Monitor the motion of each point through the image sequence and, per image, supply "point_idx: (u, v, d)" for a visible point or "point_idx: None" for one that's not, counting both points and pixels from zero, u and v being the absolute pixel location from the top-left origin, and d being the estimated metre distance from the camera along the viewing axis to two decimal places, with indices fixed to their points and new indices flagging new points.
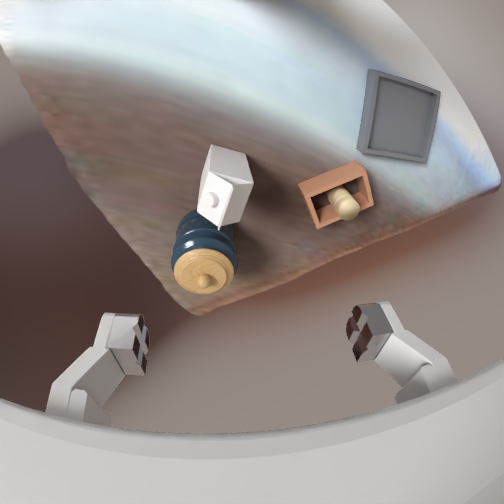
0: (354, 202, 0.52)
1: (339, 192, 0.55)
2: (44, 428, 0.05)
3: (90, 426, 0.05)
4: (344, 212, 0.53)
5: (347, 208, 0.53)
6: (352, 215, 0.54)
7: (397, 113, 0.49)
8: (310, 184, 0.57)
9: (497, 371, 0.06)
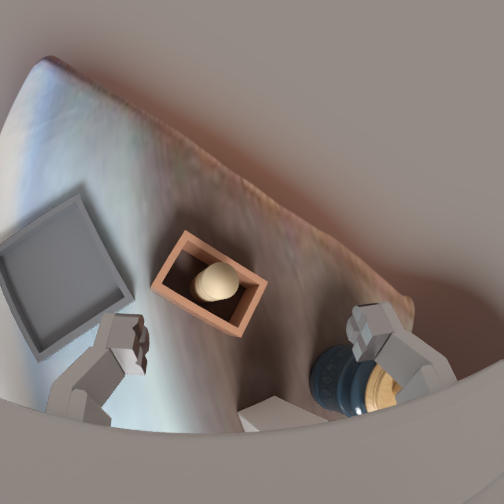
0: (206, 284, 0.34)
1: (205, 298, 0.37)
2: (44, 428, 0.05)
3: (90, 426, 0.05)
4: (228, 285, 0.35)
5: (220, 286, 0.34)
6: (224, 269, 0.35)
7: (55, 286, 0.34)
8: (220, 329, 0.41)
9: (497, 371, 0.06)
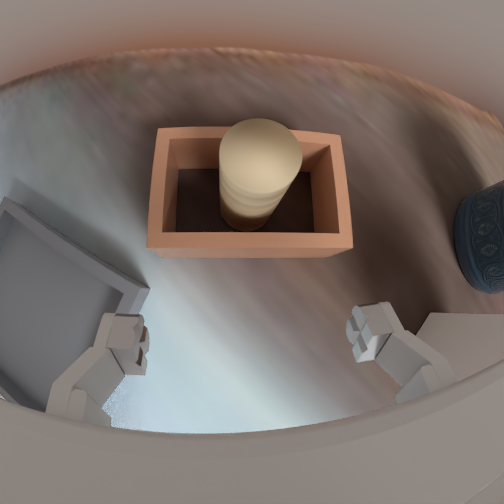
0: (234, 173, 0.14)
1: (253, 211, 0.18)
2: (44, 428, 0.05)
3: (90, 426, 0.05)
4: (281, 154, 0.15)
5: (267, 163, 0.15)
6: (254, 130, 0.15)
7: (38, 337, 0.20)
8: (309, 253, 0.22)
9: (497, 371, 0.06)
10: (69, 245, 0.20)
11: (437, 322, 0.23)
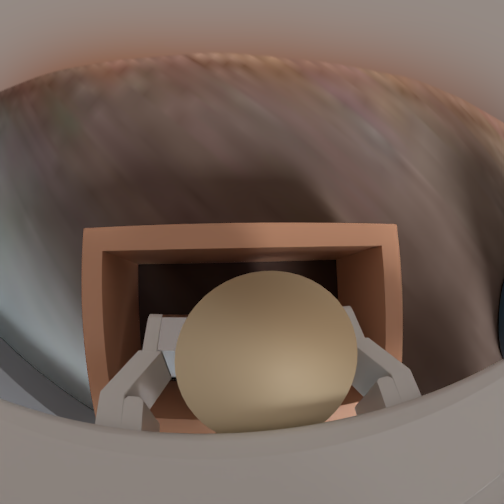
0: (213, 419, 0.06)
1: None
2: (44, 428, 0.05)
3: (90, 426, 0.05)
4: (315, 364, 0.06)
5: (283, 391, 0.06)
6: (254, 310, 0.06)
7: None
8: None
9: (497, 371, 0.06)
10: (11, 379, 0.11)
11: None
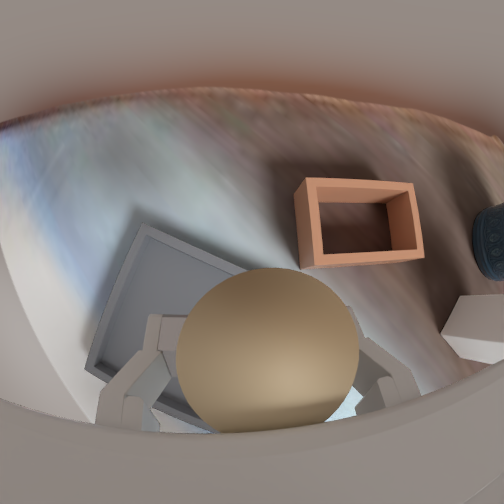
0: (215, 417, 0.06)
1: None
2: (44, 428, 0.05)
3: (90, 426, 0.05)
4: (317, 362, 0.06)
5: (285, 389, 0.06)
6: (256, 307, 0.06)
7: None
8: (395, 261, 0.31)
9: (497, 371, 0.06)
10: (233, 265, 0.29)
11: (466, 301, 0.32)
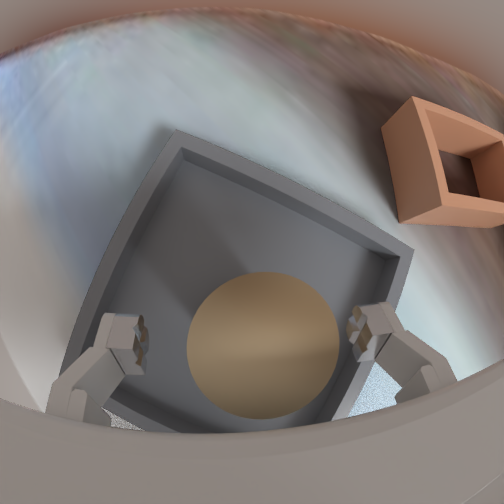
0: (218, 396, 0.07)
1: None
2: (44, 428, 0.05)
3: (90, 426, 0.05)
4: (303, 350, 0.08)
5: (276, 372, 0.08)
6: (252, 304, 0.08)
7: None
8: (495, 222, 0.20)
9: (497, 371, 0.06)
10: (327, 200, 0.17)
11: None
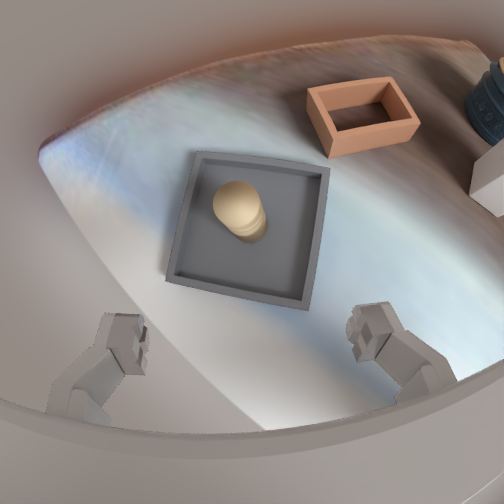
0: (225, 220, 0.27)
1: (248, 232, 0.30)
2: (44, 428, 0.05)
3: (90, 426, 0.05)
4: (247, 199, 0.27)
5: (240, 208, 0.27)
6: (228, 191, 0.27)
7: None
8: (401, 135, 0.34)
9: (497, 371, 0.06)
10: (274, 159, 0.36)
11: (479, 162, 0.32)
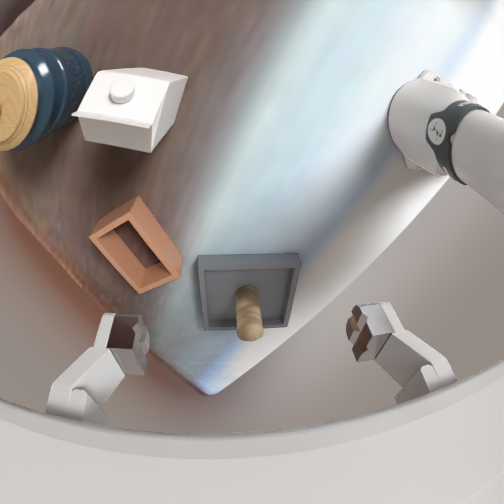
0: (260, 335, 0.49)
1: (259, 312, 0.51)
2: (44, 428, 0.05)
3: (90, 426, 0.05)
4: (247, 330, 0.48)
5: (253, 331, 0.48)
6: (244, 337, 0.49)
7: None
8: (143, 213, 0.42)
9: (497, 371, 0.06)
10: (201, 295, 0.53)
11: None
